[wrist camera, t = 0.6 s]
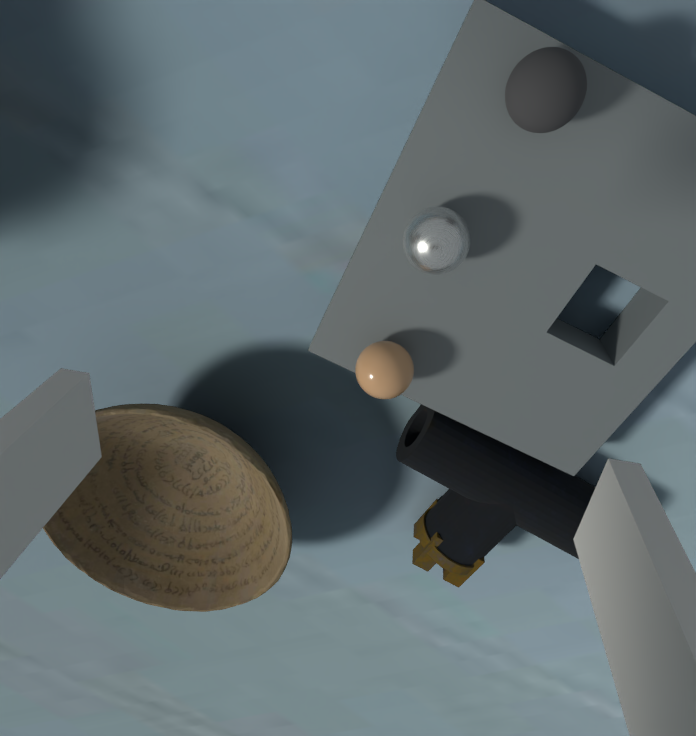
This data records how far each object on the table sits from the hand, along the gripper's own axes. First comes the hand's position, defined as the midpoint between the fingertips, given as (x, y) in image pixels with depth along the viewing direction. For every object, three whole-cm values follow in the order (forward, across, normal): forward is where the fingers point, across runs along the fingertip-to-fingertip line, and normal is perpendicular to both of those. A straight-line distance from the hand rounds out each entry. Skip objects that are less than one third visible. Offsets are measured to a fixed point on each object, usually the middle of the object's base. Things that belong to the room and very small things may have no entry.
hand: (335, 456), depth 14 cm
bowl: (+23, -12, -20) cm, 33 cm away
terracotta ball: (+19, +1, -7) cm, 20 cm away
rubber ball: (+19, +6, +8) cm, 21 cm away
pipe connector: (+23, +9, -19) cm, 31 cm away
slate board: (+22, +8, -1) cm, 24 cm away
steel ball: (+19, +2, +1) cm, 19 cm away
